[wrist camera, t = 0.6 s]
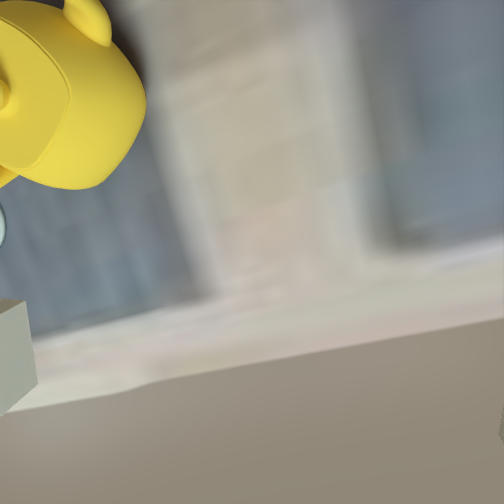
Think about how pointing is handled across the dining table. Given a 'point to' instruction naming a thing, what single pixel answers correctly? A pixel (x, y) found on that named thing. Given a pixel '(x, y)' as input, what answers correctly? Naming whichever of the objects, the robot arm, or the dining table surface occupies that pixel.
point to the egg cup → (2, 226)
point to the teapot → (64, 95)
